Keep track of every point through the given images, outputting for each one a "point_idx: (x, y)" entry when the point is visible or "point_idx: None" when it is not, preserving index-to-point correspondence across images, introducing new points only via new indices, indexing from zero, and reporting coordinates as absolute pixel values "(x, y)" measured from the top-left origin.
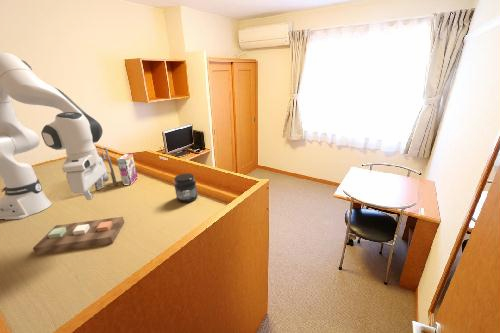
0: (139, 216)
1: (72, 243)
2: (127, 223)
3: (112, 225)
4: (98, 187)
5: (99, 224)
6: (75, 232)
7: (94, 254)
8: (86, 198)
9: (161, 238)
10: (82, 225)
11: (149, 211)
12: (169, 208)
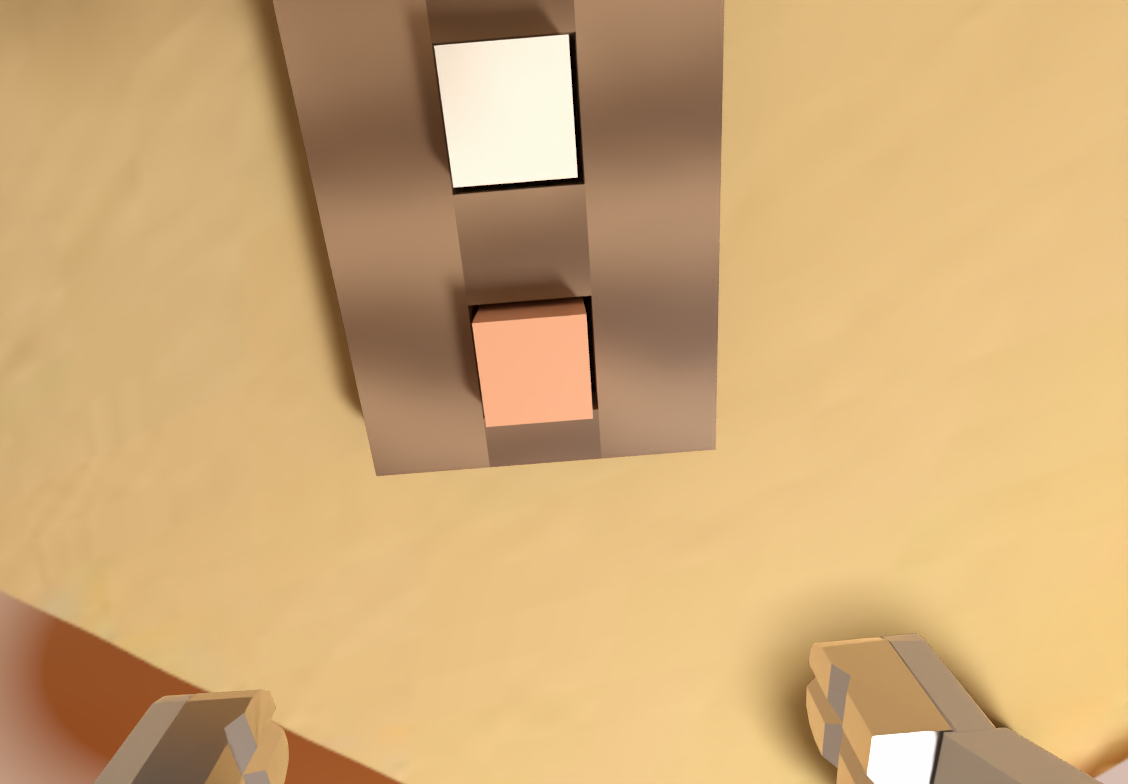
0: (768, 512)
1: (307, 126)
2: None
3: None
4: (826, 688)
5: (543, 320)
6: (441, 81)
7: (260, 359)
8: (138, 737)
9: (424, 726)
10: (557, 108)
11: (830, 567)
12: None
